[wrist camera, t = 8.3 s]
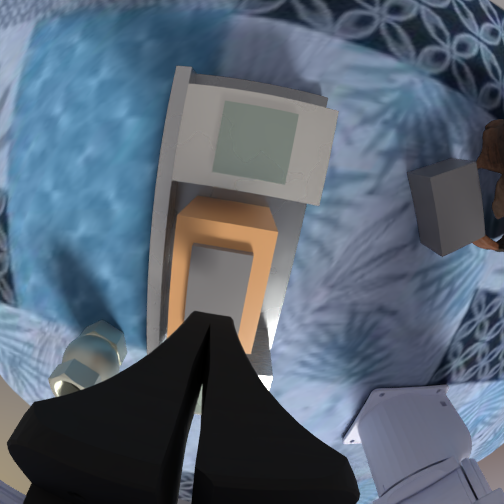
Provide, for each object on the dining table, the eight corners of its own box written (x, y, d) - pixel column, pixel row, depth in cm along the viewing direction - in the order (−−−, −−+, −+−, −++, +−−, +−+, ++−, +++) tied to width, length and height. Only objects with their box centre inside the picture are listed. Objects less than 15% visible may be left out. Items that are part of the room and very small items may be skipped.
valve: (67, 311, 20) (99, 412, 24) (23, 360, 14) (77, 461, 18) (142, 321, 20) (161, 424, 24) (110, 383, 14) (147, 480, 18)
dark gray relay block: (449, 157, 17) (476, 161, 14) (460, 224, 18) (485, 235, 15) (405, 172, 17) (429, 177, 14) (419, 242, 19) (442, 257, 16)
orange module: (269, 207, 17) (279, 234, 11) (249, 303, 18) (250, 359, 13) (197, 195, 16) (174, 217, 11) (185, 292, 18) (165, 345, 13)
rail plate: (323, 100, 15) (358, 79, 10) (258, 380, 22) (261, 440, 16) (186, 76, 15) (158, 45, 9) (156, 364, 21) (135, 420, 16)
